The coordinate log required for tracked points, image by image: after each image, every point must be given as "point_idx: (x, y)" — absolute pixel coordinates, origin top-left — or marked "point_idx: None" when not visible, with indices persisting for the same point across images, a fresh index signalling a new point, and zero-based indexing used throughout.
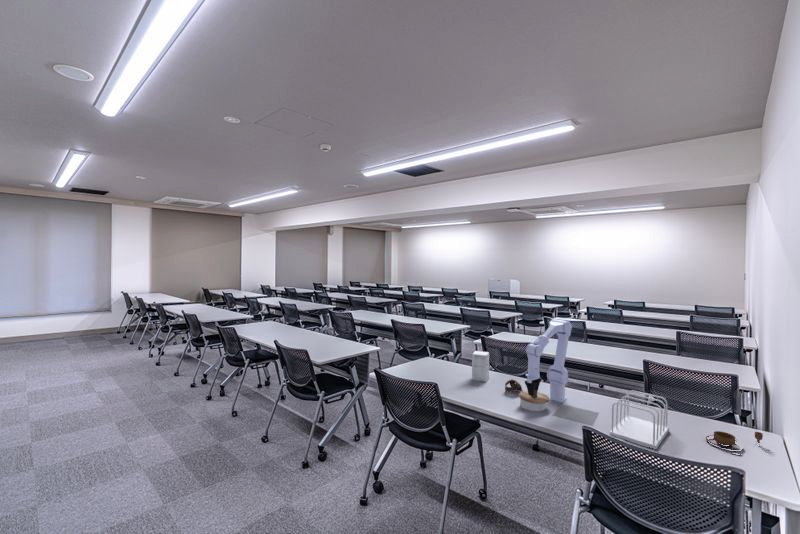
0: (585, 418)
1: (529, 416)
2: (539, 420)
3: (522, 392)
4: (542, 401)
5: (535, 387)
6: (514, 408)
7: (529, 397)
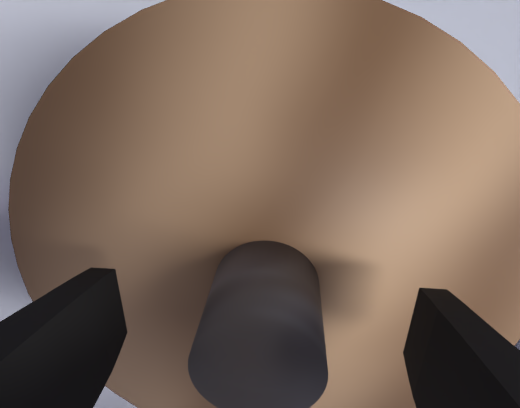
0: None
1: (9, 223)
2: (10, 306)
3: (355, 32)
4: (142, 401)
5: (446, 402)
6: (65, 3)
7: (156, 239)
